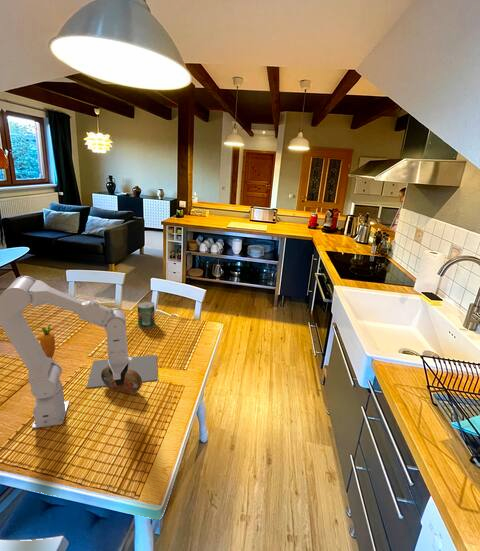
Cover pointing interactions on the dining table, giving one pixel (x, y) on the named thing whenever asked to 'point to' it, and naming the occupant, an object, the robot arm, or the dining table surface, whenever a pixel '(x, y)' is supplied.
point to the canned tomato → (146, 314)
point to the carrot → (47, 341)
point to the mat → (140, 364)
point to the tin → (130, 382)
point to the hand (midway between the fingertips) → (120, 383)
